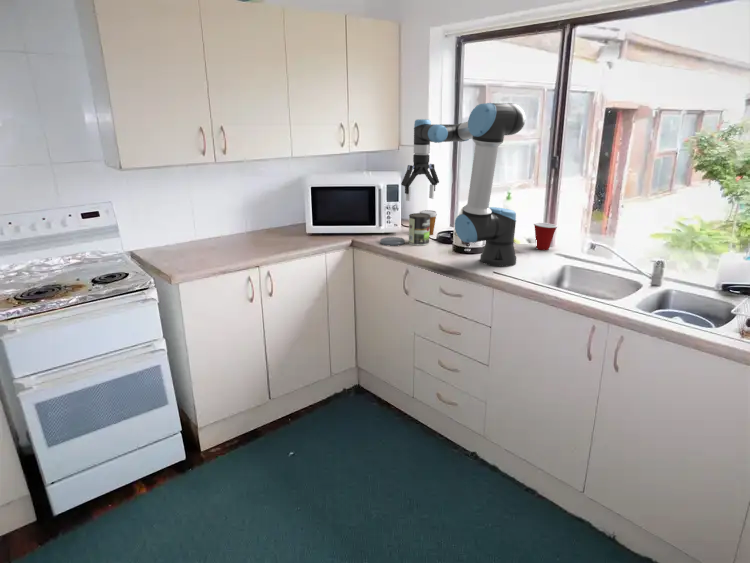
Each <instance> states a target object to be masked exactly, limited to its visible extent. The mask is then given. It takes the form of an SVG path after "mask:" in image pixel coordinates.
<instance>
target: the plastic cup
mask: <svg viewBox="0 0 750 563" xmlns="http://www.w3.org/2000/svg"><path fill="white" fill-rule="evenodd" d="M533 225H534V231H535V232H534V233H535V234H534V237H535V238H536V239H535V238H534V239H535V241H536V240H537V246H536V245H535V247H536V248H537V249H536V248H535V249H536V250H539V251H548V250H549V249H550V247H551V244H552V241H553V238H554V234H555V232H556V229H557V228H558V225H557V224H554V223H553V224H552V223H549V222H548V223H547V222H533Z"/></svg>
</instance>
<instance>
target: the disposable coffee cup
mask: <svg viewBox="0 0 750 563" xmlns="http://www.w3.org/2000/svg"><path fill="white" fill-rule="evenodd" d="M419 213H424V214H429V215H430V232H429V236H433V235H434V231H435V226H436V225H435V224H436V220H437V215H438V214H437V211H436V210H433V209H432V210H431V209H430V210H428V209H427V210H426V209H425V210H420V211H419Z"/></svg>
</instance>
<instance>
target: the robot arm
mask: <svg viewBox="0 0 750 563" xmlns="http://www.w3.org/2000/svg"><path fill="white" fill-rule="evenodd" d="M525 123H526V113H525V112H524V109H523V108H522V107H521V106H519V105H518V104H515V103H511V102H510V103H509V102H508V103H504V102H503V103H497V102H496V103H495V102H486V103H485V102H484V103H479V104H478V105H476V106H474V108H473V109H472V110H471V111H470V114H469V117H468V121H464V122H461V123H455V124H454V123H453V124H442V123H441V124H434V123H432V122H431V120H430V119H426V118H425V119H423V118H421V119H415V120H414V126H413V155H412V156H413V158H412V160H413V161H412V162H413V165H410V164H408V165H407V168H406V172H405V174H404V176H403V178H402V182H401V184H400V185H401V186H403V187H404V194H405V201H407V202H411V196H412V195H411V194H412V192H411V189H412V187H411V184H412V183H413V181H414V180H415V179H416V177H417V176H418V175H425V177H426V178H427V180H428V181H429V183H430V184H429V194H428V198H429V199H432V200H434V199H435V191H436V186H437V185H438V184H439V183H440V179H439V178H438V174H437V171H436V170H435V164H434V163H430V152H431V151H430V150H431V143H438V144H439V143H444V142H445V143H449V142H461V143H462V142H467V141H469V140H472V141H473V142H474V143H475V147H474V154H473V160H472V161H473V162H472V168H471V173H470V174H471V175H470V183H469V187H468V188H469V189H468V197H467V203H466V205H465V206H463V207H462V212H461V214H459V215H457V216H456V218H455V220H454V229H455V233H456V234H457V237H458V239H460V241H462V243H463V242H464V243H472V244H473V243H477V242H484V241H485V244H484V246H483V249H482V251H481V252H482V253H481V254H480V260H479V261H480V263H482V264H484V265H487V266H490V267H491V266H493V267H510V266H514V265H516V264H517V256H516V250H515V246H514V244H515V243H514V242H515V233H516V223H517V220H516V219H517V213H516V211H514V210H512V209H508V208H502V207H494V206H492V207H491V206H490V202H491V195H492V189H493V188H492V187H493V182H494V176H495V169H496V164H497V158H498V152H499V146H501V145H502V144H503V143H504V140H505V136H513V135H515V134H517V133H519V132H520V131H522V129H524V126H525ZM429 163H430V164H429Z"/></svg>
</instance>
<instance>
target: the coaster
mask: <svg viewBox="0 0 750 563" xmlns="http://www.w3.org/2000/svg"><path fill="white" fill-rule="evenodd" d="M405 242H406V239H404V237H403V238H402V237H398V236H389V237H388V236H387V237H382V238H380V245H383V244H384V246H387V245H390V246H389V247H398V245H399V246H403V245H404V244H405Z"/></svg>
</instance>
